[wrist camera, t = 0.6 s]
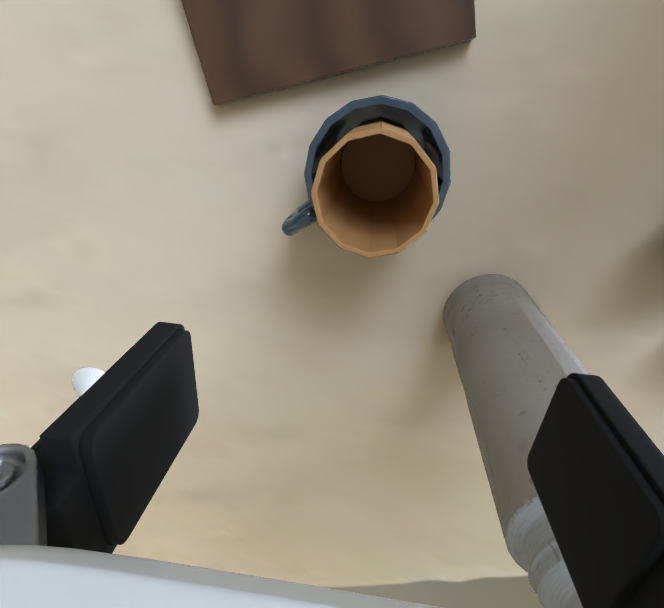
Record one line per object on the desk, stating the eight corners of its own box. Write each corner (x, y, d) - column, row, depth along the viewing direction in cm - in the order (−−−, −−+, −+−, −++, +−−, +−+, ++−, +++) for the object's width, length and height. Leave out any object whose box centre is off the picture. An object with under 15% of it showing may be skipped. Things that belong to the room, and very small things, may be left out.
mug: (402, 71, 30) (407, 61, 23) (456, 183, 33) (474, 203, 26) (267, 165, 34) (239, 179, 27) (326, 256, 37) (313, 289, 31)
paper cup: (413, 111, 30) (431, 115, 19) (423, 196, 33) (443, 245, 22) (330, 130, 32) (299, 145, 20) (346, 210, 34) (327, 264, 23)
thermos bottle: (492, 360, 40) (667, 773, 15) (427, 322, 39) (501, 702, 14) (549, 300, 37) (896, 715, 12) (479, 258, 36) (698, 615, 11)
